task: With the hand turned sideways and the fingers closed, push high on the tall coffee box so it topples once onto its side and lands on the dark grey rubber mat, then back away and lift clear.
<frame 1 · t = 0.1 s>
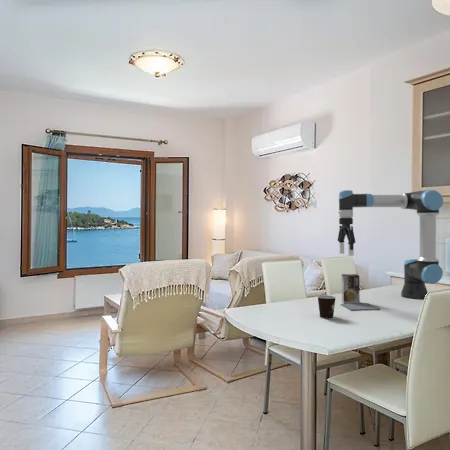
hand: (346, 254, 241), 28 cm above the table, tool pointing down, fingers open, 13 cm apart
coffee mug: (328, 316, 210), on the table
coffee box: (350, 302, 243), on the table
mat: (359, 307, 230), on the table
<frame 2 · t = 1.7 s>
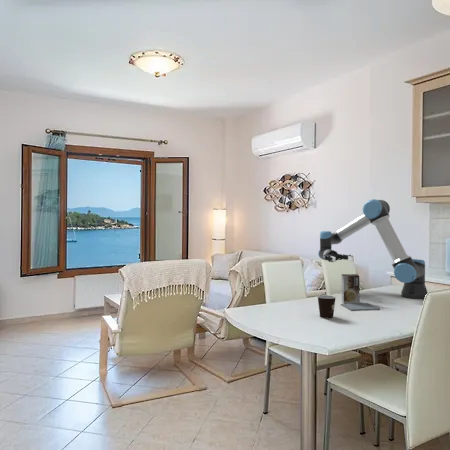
hand: (344, 259, 252), 24 cm above the table, tool horizontal, fingers open, 10 cm apart
nothing on the table moved.
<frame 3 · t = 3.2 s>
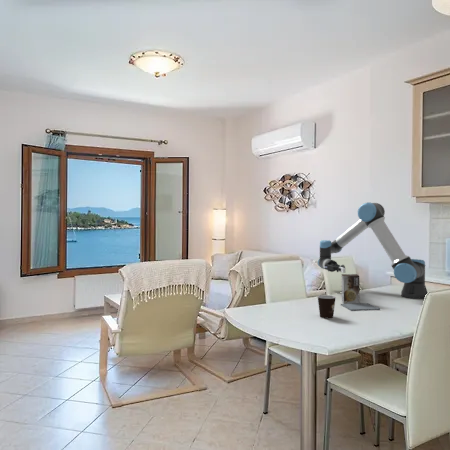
hand: (344, 270, 251), 17 cm above the table, tool horizontal, fingers closed
nothing on the table moved.
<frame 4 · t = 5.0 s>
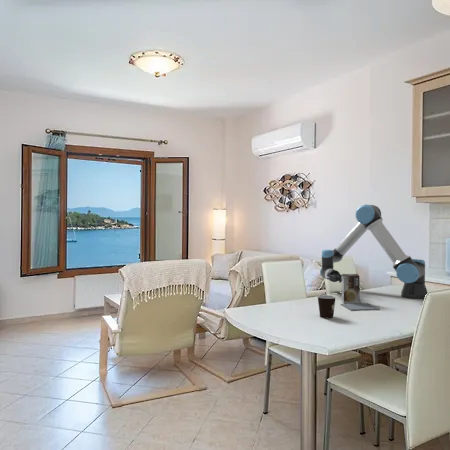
hand: (346, 281, 246), 12 cm above the table, tool horizontal, fingers closed
coffee box: (350, 302, 243), on the table, touching gripper
everything else where it was.
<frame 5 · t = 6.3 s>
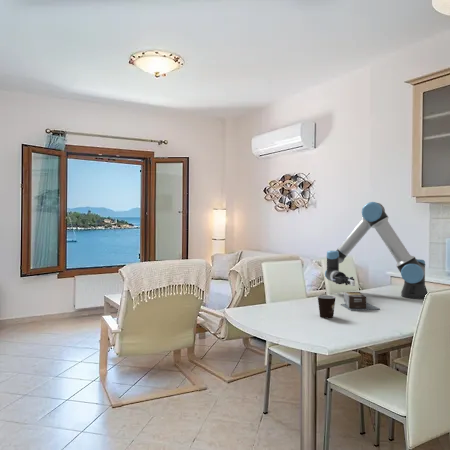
hand: (353, 283, 237), 12 cm above the table, tool horizontal, fingers closed
coffee box: (351, 296, 240), point 4 cm above the table, touching mat
everything else where it was.
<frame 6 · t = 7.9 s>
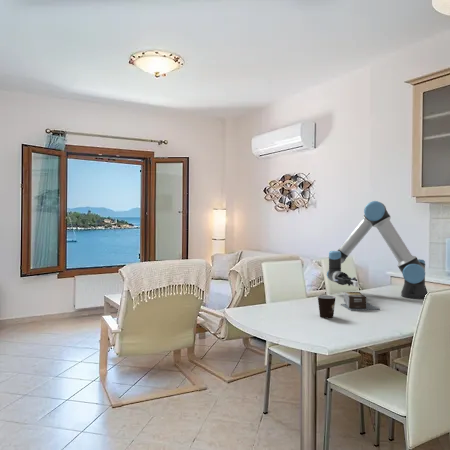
hand: (356, 284, 234), 12 cm above the table, tool horizontal, fingers closed
nothing on the table moved.
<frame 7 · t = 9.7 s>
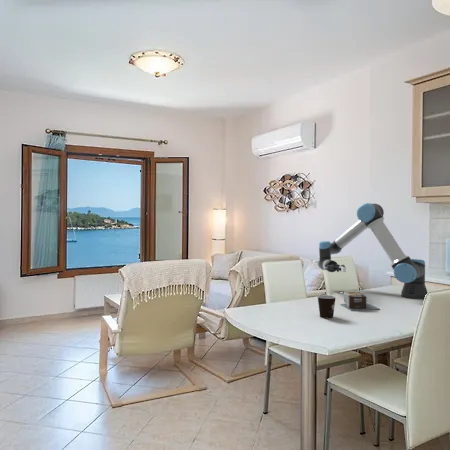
hand: (344, 269, 251), 18 cm above the table, tool horizontal, fingers closed
nothing on the table moved.
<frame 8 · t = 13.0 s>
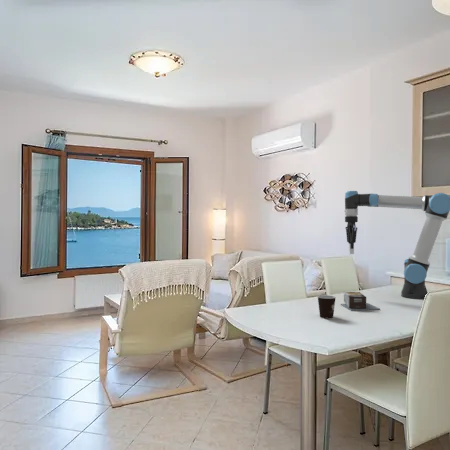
hand: (351, 253, 261), 26 cm above the table, tool pointing down, fingers closed
nothing on the table moved.
at the end: coffee box tilted 90°; coffee box touching mat; coffee box inside the target area (5.7 cm from its centre), point 3.8 cm above the table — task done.
